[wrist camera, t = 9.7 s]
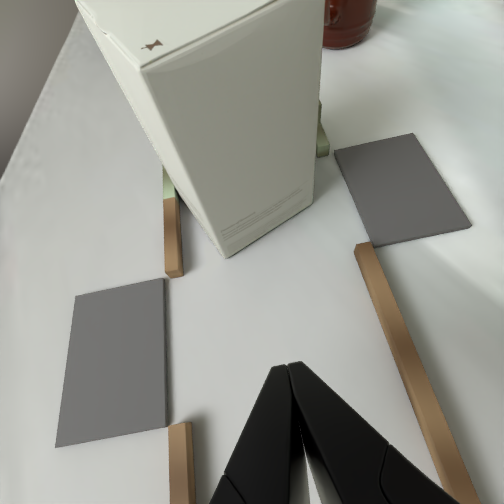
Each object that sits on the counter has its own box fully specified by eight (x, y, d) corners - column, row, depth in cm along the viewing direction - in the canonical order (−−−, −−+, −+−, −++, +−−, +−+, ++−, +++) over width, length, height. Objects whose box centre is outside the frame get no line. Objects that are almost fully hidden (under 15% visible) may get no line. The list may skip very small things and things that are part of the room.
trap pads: (548, 354, 18) (553, 353, 17) (59, 447, 19) (55, 447, 18) (411, 136, 27) (412, 132, 26) (90, 208, 28) (87, 205, 28)
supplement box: (317, 204, 25) (337, -29, 12) (225, 262, 23) (132, 71, 10) (256, 145, 29) (222, -75, 16) (176, 191, 28) (66, -9, 15)
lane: (483, 533, 14) (523, 560, 12) (180, 584, 15) (156, 620, 12) (316, 126, 29) (318, 97, 26) (167, 160, 30) (154, 135, 27)
